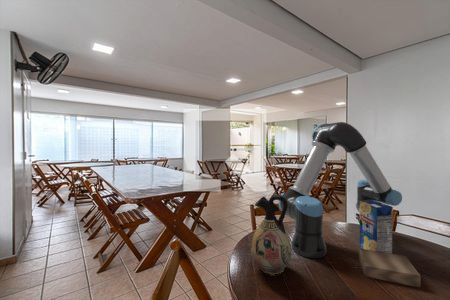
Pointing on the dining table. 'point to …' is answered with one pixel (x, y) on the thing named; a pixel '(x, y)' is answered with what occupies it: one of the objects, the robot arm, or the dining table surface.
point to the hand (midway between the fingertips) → (380, 230)
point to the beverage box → (376, 226)
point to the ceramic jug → (271, 238)
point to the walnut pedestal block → (389, 267)
